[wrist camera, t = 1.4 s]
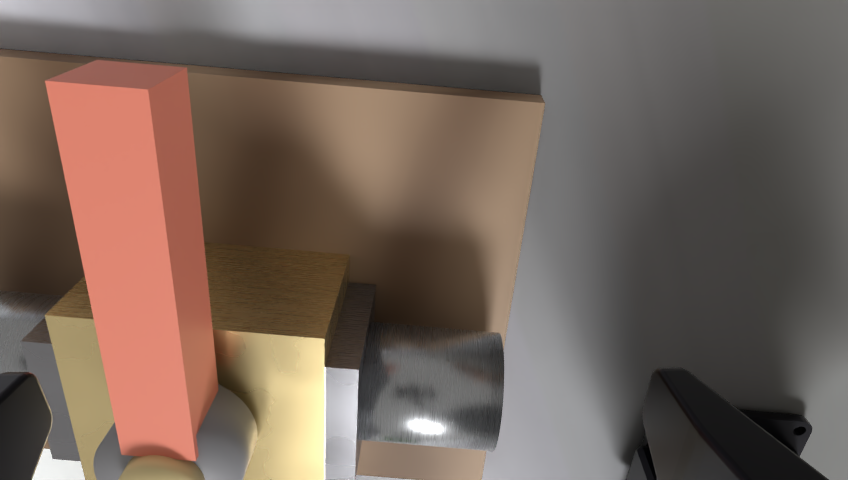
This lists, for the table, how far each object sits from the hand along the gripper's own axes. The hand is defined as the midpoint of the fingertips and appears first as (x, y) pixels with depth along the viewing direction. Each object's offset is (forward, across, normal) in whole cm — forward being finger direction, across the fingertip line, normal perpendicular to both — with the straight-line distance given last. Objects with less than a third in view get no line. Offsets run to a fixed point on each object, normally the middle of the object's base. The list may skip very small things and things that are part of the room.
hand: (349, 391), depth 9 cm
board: (+13, +5, +8) cm, 16 cm away
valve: (+13, +6, +8) cm, 17 cm away
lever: (+7, +6, +4) cm, 10 cm away
